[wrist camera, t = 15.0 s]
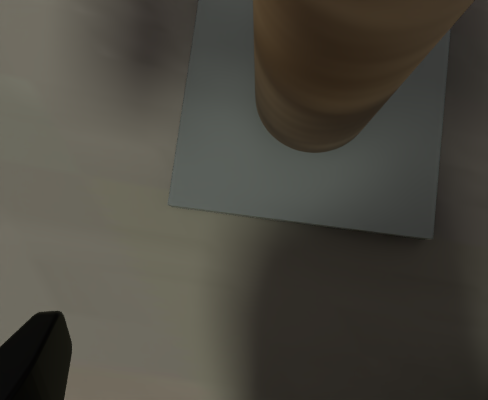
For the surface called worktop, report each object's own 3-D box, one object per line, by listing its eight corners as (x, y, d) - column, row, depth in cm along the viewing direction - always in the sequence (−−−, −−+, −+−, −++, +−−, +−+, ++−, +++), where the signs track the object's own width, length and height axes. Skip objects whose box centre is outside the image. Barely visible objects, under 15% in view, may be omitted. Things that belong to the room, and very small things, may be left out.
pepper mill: (394, 74, 18) (756, -388, 5) (336, 174, 17) (560, -39, 4) (292, 19, 18) (373, -538, 5) (233, 115, 18) (166, -233, 5)
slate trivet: (443, 0, 19) (454, -13, 18) (423, 239, 18) (433, 239, 17) (207, -25, 20) (204, -39, 19) (172, 207, 18) (167, 205, 17)
